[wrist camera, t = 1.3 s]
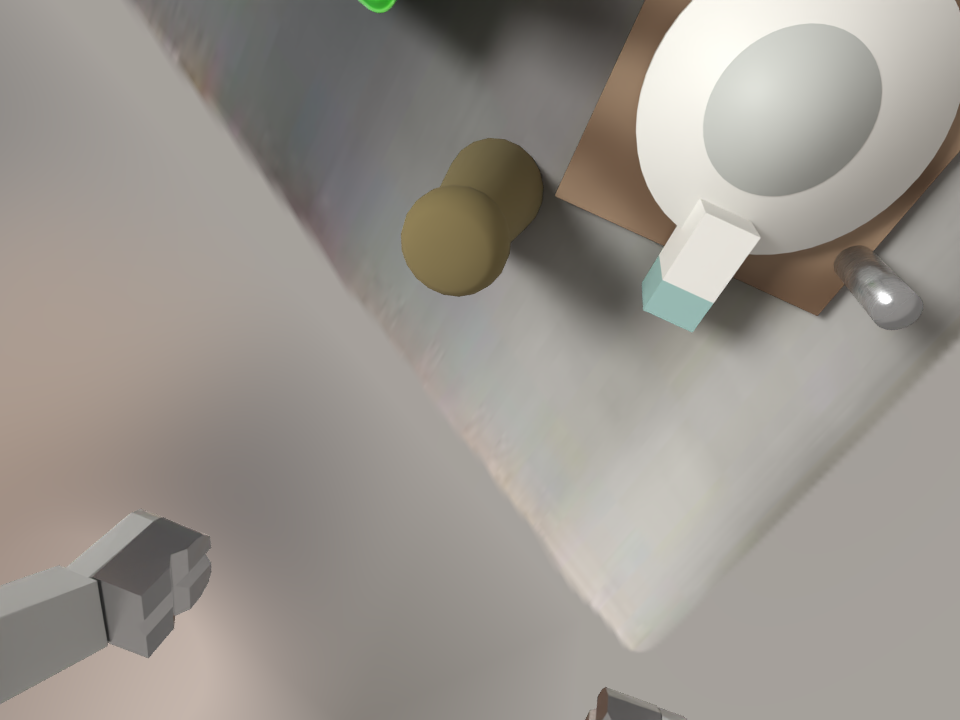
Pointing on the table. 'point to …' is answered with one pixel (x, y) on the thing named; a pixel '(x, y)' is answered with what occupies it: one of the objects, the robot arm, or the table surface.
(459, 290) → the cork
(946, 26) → the white oval plate
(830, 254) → the wooden board
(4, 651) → the robot arm
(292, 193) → the table surface
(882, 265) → the dowel
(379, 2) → the fruit basket
